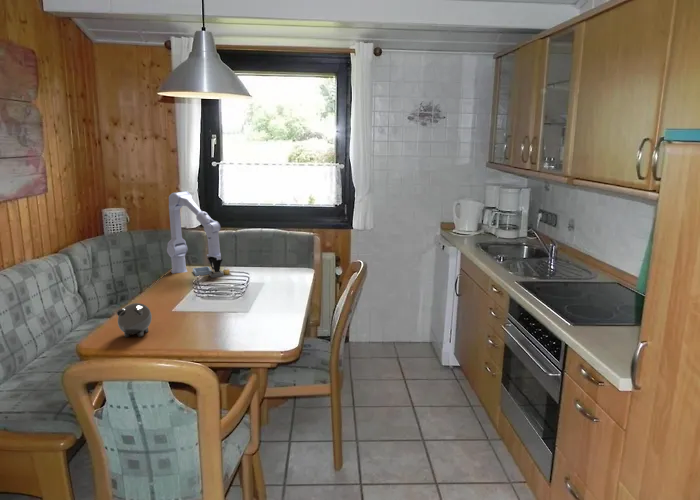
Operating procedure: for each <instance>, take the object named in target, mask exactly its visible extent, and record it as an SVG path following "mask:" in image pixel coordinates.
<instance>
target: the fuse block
mask: <svg viewBox="0 0 700 500" xmlns="http://www.w3.org/2000/svg"><path fill="white" fill-rule="evenodd" d="M230 276H233V274H232V273H231V272H230V269H229V268H224V269H223V271H222V270H221V269H220V271H219V273H215V274H213V270H212V272H209V277H210V278H212V279H217V278H223V277H230Z"/></svg>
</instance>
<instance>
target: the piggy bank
mask: <svg viewBox="0 0 700 500" xmlns="http://www.w3.org/2000/svg"><path fill="white" fill-rule="evenodd" d="M116 315H117V316H118V317H117V326H118V328H119V330H120V331H121V332H123V334H124V337H125V338H130V337H131V335H137V337H138V338H143V337H144V333H148V332H149V326H150V325H151V323H152V319H153V318H152V312H151V310H150V308H149V307H148V306H147V305H145V304H143V303H140V302H133V303H130V304H127V305H125V306H124V307H123V308H119V309H118V310H117V311H116Z"/></svg>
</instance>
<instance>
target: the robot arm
mask: <svg viewBox="0 0 700 500" xmlns="http://www.w3.org/2000/svg"><path fill="white" fill-rule="evenodd" d="M183 207H187V208H188V209H189V210H190V211H191V212H192V213H193V214H194V215H195V216H196V220H197V221H198V223H200V224H201V225H202V227H203V230H204V233H205V236H206V238H207V249H208V251H207V252H208V254H206V256H207V260H208V262H209V264H210V266H211V267H210V268H211V270H212V271H213V269H212V263H213V266H214V270H215V272H219V271H220V270H221V264H222V263H223V258H222V255H221V249H220V248H221V247H220V246H221V245H220V233H219V232H220V231H221V224H220V222H219V221H217V220H214V219H213V218H211V216H210V215H209V214H208V212H206V211H203V210H202V209H201V208H200V207H199V205H197V203H196V202H195V201H194V199H193V195H192V194H191V193H190V192H189V191H187V190H185V191H179V192H172V193H171V194H169V196H168V213H169V227H170V237H171V239H170V240H169V241H168V242H167V246H166V252H167V255H168V256H169V257H170V261H171V268H172V269H170V272H171V273H172V275H174V274H179V273H188V272H189V271H188V269H187V266H186V265H187V264H186V255H187V253H188V249H189V248H188V245H187V242H186V239H184V238H183V235H182V234H183V233H182V221H181V209H182V208H183Z"/></svg>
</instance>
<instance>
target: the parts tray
mask: <svg viewBox="0 0 700 500" xmlns="http://www.w3.org/2000/svg"><path fill="white" fill-rule="evenodd" d="M212 271H213V270H212V268H211V267H209V266H202V267H194V268H192V273H193V275H195V277H199V275H201V276H208V275H209V272H212ZM209 276H210V275H209Z"/></svg>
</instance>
